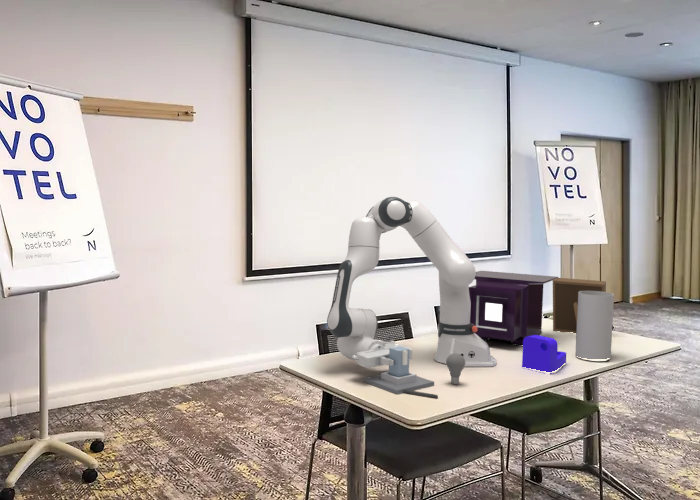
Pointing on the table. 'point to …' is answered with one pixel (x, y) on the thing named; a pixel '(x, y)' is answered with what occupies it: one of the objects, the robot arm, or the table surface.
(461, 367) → the light bulb
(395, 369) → the plug block
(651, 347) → the table surface
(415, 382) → the board
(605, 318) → the cylinder vase
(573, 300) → the photo frame
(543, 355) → the bracket
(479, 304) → the dark purple stove
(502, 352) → the table surface
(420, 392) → the rod
